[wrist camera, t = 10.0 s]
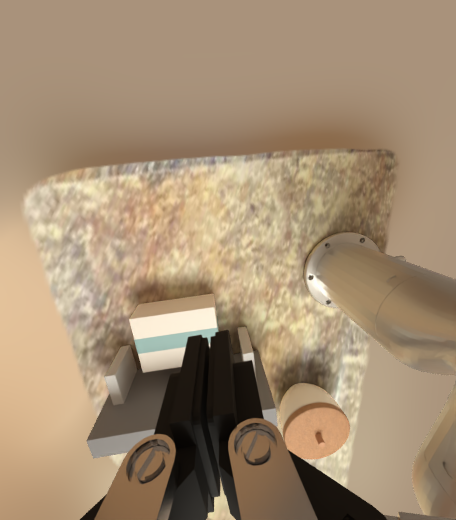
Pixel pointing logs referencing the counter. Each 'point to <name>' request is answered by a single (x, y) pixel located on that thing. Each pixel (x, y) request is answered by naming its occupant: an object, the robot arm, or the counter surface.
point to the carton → (171, 329)
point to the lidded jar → (312, 422)
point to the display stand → (152, 400)
